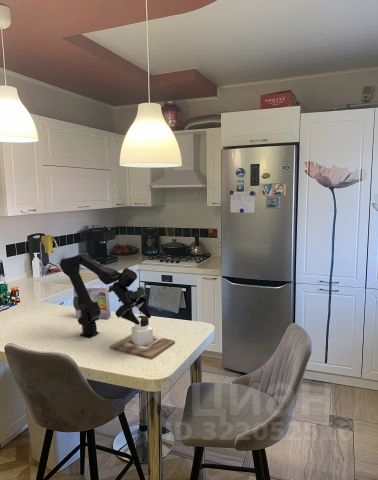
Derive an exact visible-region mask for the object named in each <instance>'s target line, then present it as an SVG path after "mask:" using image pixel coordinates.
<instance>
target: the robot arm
mask: <svg viewBox="0 0 378 480" xmlns="http://www.w3.org/2000/svg"><path fill="white" fill-rule="evenodd" d="M59 262H60V263H59V267H60V269H61V270H62V272H63V274H65V275H66V276H67V277H68V278H69V281H70V282H71V284H72V287H73V288H74V289H75V291H76V294H77V296H78V298H79V300H80V303H81V314H82V316H81V317H80V318H77V322H78V325H81V333H80V334H79V336H82V337H85V338H88V339H89V338H92V337H95V336H96V335H98V334H99V333H100V332H99V331H98V330H97V329H98V327H97V326H98V325H97V321H99V316H100V313H101V311H100V307H99V305H98V303H97V302H93V301H92V300H91V298H90V296H89V294H88V292H87V289H86V287H85V286H86V285H85V283H84V281H83V279H82V276H81V274H80V269H81V266H82V267H84V268H85V269H87V270H89V271H91V272H92V273H93V274H95V275H96V276H97V278H98V279H99V281H101V282H102V283H103V284H104V285H105V286H108V293H112V292H113V293H114V294H115V296H116V297H117V298H118V299H117V301H118V303H121V304H122V305H120V306H119V307H118V308H117V310H116V311H115V316H116V317H117V318H118V319H119V318H121V319H123V320H126V321H129V322H131V323H133V324H134V325H135V324H137V325H139V324H140V323H139V321H138V319H137V318H136V317H137V316H136V315H135V314H134V312H133V310H134V309H133V308H135V307H136V308H137V310H138V311H139V312H140V313H142V315H143V316H147V317H148V319H151V317H152V316H151V313H150V310H149V307H148V303H149V300H150V297H149V296H148V294H146V289H145V288H144V287H143V286H139V287H137V290H133V289H132V290H131V289H129V288H130V287H131V286H132V284H133V283H134V282H135V281H136V280H137V279H138V274H137V273H136V271H134V270H132V269H129V267H125V268H124V269H123V270H122V272H119V271H118V270H116V269H114V268H112V267H107V266H104V265H102V264H101V263H100V262H97V261H96V260H94V258H91V257H90V256H88V255H87V254H86V253H79V254H77V255H74V256H70V257H66V258H62V259H61V260H60V261H59ZM110 284H111V285H110ZM74 289H73V290H74Z"/></svg>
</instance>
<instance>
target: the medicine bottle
mask: <svg viewBox="0 0 378 480" xmlns="http://www.w3.org/2000/svg"><path fill="white" fill-rule="evenodd" d="M135 317H136V318H137V319H138V321H139V323H140V324H139V325H137V324H135V323H134V326H132V327H131V334H132V342H133V343H134V344H135V345H138V346H142V347H143V346H147V345H150V344H151V343H153V336H154V335H153V333H154V331H153V328H152V327H150V325H149V322H150V321H149V320H150V318H148V317H147V316H145V315H138V316H135Z"/></svg>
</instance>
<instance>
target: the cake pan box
mask: <svg viewBox="0 0 378 480" xmlns="http://www.w3.org/2000/svg"><path fill="white" fill-rule="evenodd" d="M85 287H86V289H87V292H88V294H89V296H90V298H91V300H92V301H93V302H97V303H98V305H99V307H100V311H101V313H100V316H99V319H100V320H101V319H102V320H103V319H104V320H107V319H109V318H110V317H111V314H112V313H111V308H110V306H111V305H110V295H109V285H95V284H94V285H93V284H92V285H91V284H89V285H85ZM72 304H73V308H74V310H75V316H76V317H75V318H76V319H79V318H80V317H81V316H82V314H81V303H80V300H79V298H78V296H77V294H76V291H75V289H74V287H73V300H72ZM99 319H98V320H99Z"/></svg>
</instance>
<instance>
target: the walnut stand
mask: <svg viewBox="0 0 378 480" xmlns="http://www.w3.org/2000/svg"><path fill="white" fill-rule="evenodd" d="M175 343H176V340H173V339H168V338H164V337H160V336H155V335H153V343H151V344H150V345H147V346H143V347H142V346H138V345H135V344H134V343H133V342H132V333H131V334H130V335H128V336H126V337H124V338H123V339H121V340H119V341H117V342H115V343H114V344H112V345H110V346H109V349H110V350H113V351H117V352H121V353H125V354H130V355H133V356H137V357H141V358H144V359H149V360H153V359H155V358H156V357H157V356H158V355H160V354H161V353H163V352H164V351H166V350H168V349H169V348H170V347H172V346H173V345H174V344H175Z"/></svg>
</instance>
